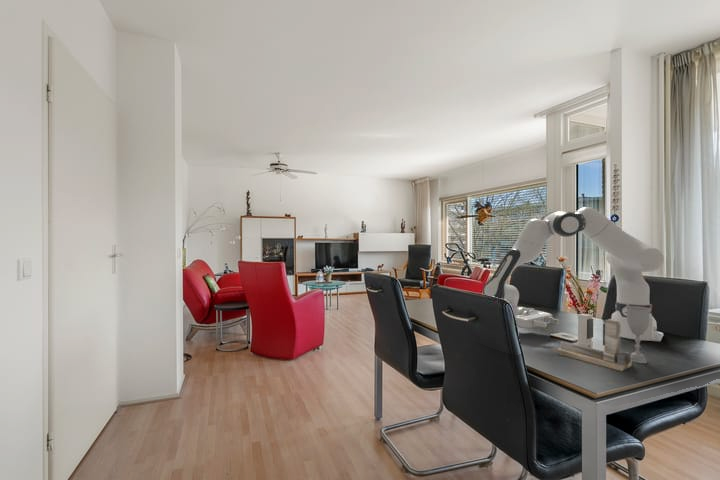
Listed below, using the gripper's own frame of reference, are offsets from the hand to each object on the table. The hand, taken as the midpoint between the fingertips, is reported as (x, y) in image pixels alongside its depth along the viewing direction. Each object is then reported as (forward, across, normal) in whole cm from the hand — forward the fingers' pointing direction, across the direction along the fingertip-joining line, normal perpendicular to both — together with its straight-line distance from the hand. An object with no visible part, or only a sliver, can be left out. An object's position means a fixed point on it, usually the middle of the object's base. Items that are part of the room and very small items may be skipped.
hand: (552, 323), depth 141 cm
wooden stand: (+19, -11, +7) cm, 23 cm away
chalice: (+28, +1, +7) cm, 29 cm away
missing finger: (+12, 0, +7) cm, 14 cm away
